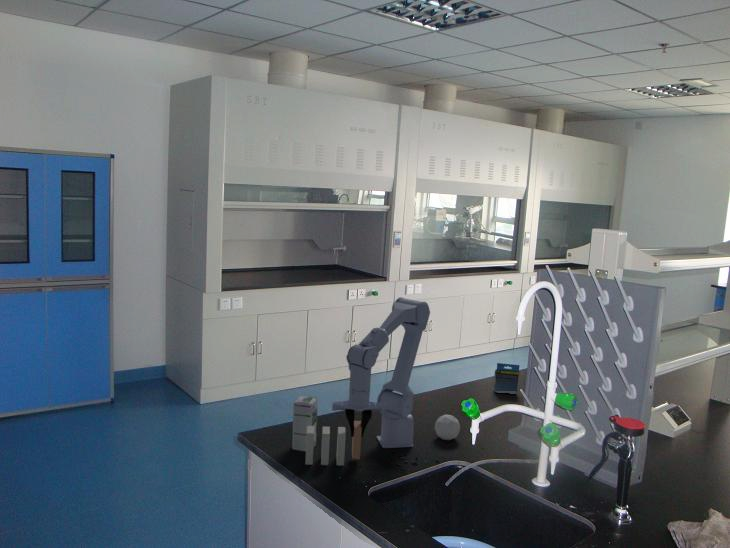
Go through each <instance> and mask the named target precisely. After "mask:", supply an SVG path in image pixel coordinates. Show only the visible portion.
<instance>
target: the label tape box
mask: <svg viewBox="0 0 730 548" xmlns="http://www.w3.org/2000/svg"><path fill="white" fill-rule="evenodd" d="M507 367H508V368H507ZM519 377H520V365H519V364H512V363H502V362H497V363H496V369H495V370H494V376H493V387H492V390H493V389H494V391H516V392H517V393H518V386H519ZM494 391H493V392H494Z"/></svg>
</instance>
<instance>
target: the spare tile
mask: <svg viewBox="0 0 730 548" xmlns="http://www.w3.org/2000/svg"><path fill="white" fill-rule="evenodd" d="M361 432H362V426H361V420H354V437H352V442H351V456H352V458H351V459H352V460H360V459H361V448H362V447H361V444H362V437H361Z"/></svg>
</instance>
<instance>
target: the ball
mask: <svg viewBox="0 0 730 548" xmlns="http://www.w3.org/2000/svg"><path fill="white" fill-rule="evenodd" d="M434 424H435V425H434V430H435V433H436V435H437V437H439V438H441V440H445V441H451V440H453V439H456V437H457V436H458V435H459V434H460V430H461V425H460V423H459V420H458V419H457V418H456V417H455V416H453V414H452V415H450V414H446V413H445V414H444V415H441V416H439V417H438V418H437V420H436V421H435V423H434Z"/></svg>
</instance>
